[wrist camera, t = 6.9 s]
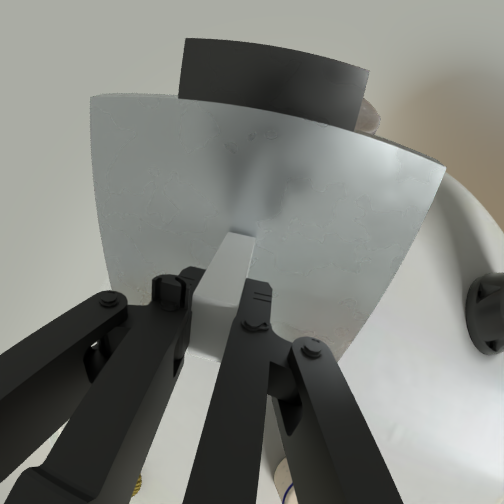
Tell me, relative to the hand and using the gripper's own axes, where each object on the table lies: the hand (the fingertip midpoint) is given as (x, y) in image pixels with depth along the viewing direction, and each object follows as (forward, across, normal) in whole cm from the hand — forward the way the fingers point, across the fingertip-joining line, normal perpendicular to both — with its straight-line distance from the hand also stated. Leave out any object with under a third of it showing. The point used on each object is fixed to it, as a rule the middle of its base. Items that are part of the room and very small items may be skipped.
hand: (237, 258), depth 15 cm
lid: (+2, 0, +1) cm, 2 cm away
